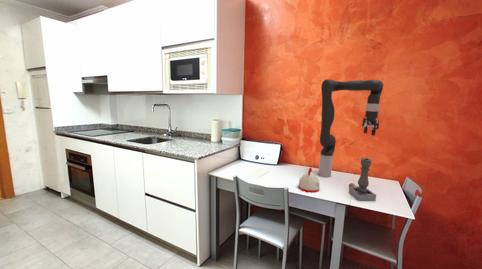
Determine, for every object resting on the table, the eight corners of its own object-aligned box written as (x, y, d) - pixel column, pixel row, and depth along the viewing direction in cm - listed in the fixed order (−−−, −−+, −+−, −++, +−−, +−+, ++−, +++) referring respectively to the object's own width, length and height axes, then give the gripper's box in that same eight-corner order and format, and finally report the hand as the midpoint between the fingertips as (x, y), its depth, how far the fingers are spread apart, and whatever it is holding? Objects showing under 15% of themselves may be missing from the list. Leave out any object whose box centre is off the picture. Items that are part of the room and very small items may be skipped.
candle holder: (369, 199, 140) (374, 160, 135) (359, 198, 140) (364, 160, 135) (363, 194, 146) (368, 157, 141) (354, 194, 146) (358, 157, 141)
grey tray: (343, 189, 155) (344, 182, 154) (358, 189, 155) (359, 182, 154) (358, 201, 137) (359, 194, 136) (375, 201, 138) (376, 194, 137)
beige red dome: (296, 189, 151) (297, 168, 148) (300, 182, 163) (302, 163, 160) (317, 194, 145) (319, 172, 142) (320, 187, 157) (322, 166, 154)
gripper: (384, 111, 142) (381, 136, 145) (370, 109, 156) (367, 132, 159) (373, 111, 142) (370, 136, 145) (360, 109, 156) (357, 132, 159)
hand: (368, 134), depth 152 cm, fingers open, 8 cm apart
